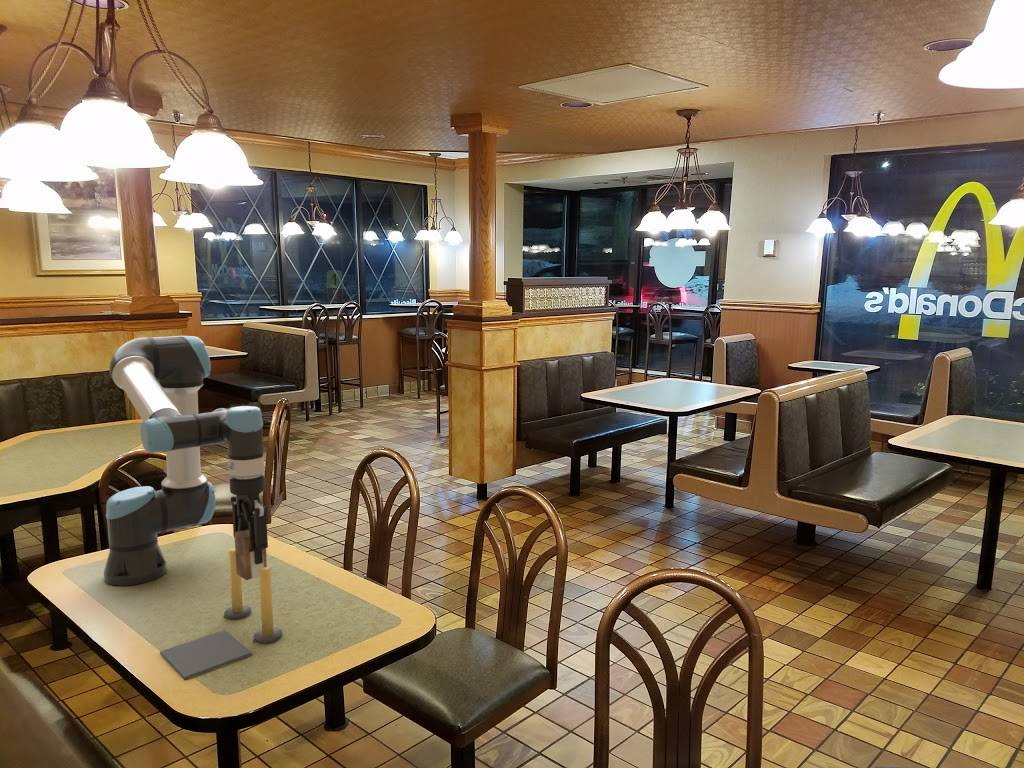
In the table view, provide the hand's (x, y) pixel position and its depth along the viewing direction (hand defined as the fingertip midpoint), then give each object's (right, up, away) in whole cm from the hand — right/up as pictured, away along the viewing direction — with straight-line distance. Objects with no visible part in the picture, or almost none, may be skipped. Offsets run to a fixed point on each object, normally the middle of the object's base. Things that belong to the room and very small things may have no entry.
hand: (251, 572), depth 164 cm
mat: (-5, -14, -12) cm, 20 cm away
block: (0, 0, 0) cm, 0 cm away
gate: (0, -13, +1) cm, 13 cm away
